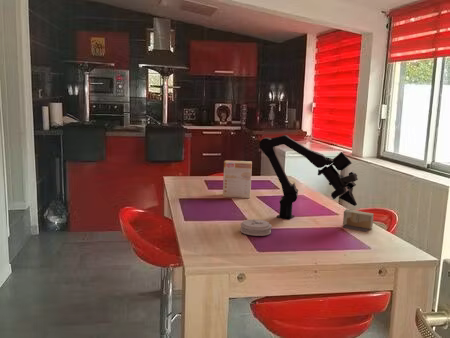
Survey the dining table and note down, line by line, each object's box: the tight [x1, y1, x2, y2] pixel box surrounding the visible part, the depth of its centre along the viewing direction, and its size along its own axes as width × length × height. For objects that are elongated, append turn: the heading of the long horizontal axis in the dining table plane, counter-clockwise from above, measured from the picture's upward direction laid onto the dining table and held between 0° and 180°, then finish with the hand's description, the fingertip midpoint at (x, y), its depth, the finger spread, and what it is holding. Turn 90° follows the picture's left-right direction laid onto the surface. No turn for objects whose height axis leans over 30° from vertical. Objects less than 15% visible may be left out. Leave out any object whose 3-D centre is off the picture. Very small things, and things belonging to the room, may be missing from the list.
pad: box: [342, 224, 370, 233], centre depth 199 cm, size 10×10×1 cm
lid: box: [240, 218, 272, 237], centre depth 185 cm, size 13×13×5 cm
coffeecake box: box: [222, 159, 253, 199], centre depth 247 cm, size 15×7×20 cm, turn 84°
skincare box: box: [342, 208, 374, 230], centre depth 199 cm, size 6×4×12 cm
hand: (355, 205), depth 199 cm, fingers closed
